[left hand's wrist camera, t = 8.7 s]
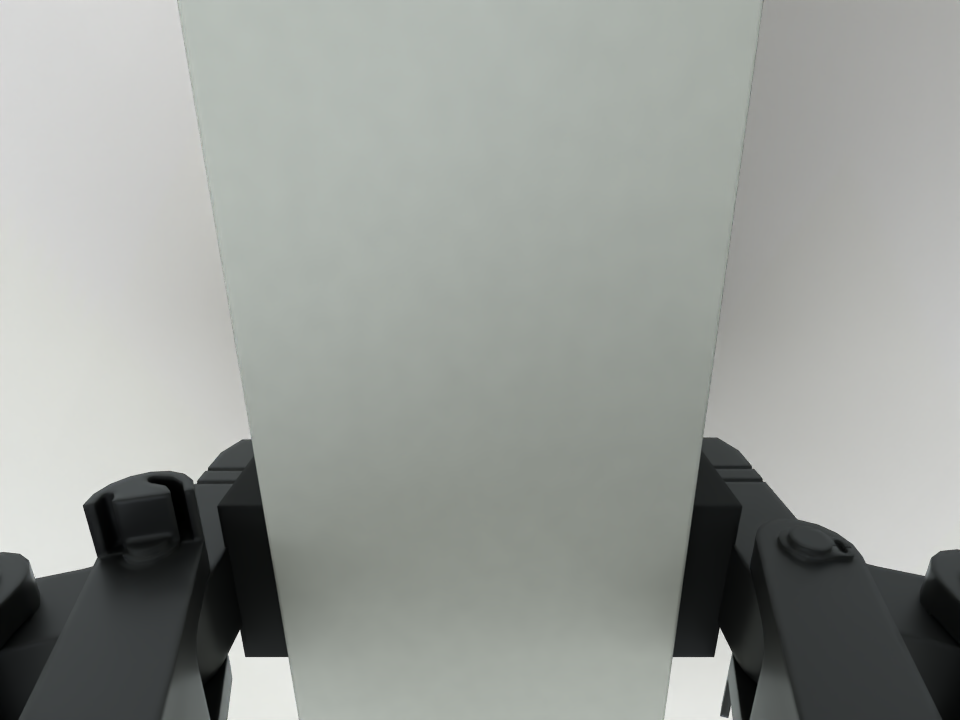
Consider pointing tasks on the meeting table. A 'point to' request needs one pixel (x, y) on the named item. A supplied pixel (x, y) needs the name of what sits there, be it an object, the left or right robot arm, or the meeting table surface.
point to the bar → (475, 332)
